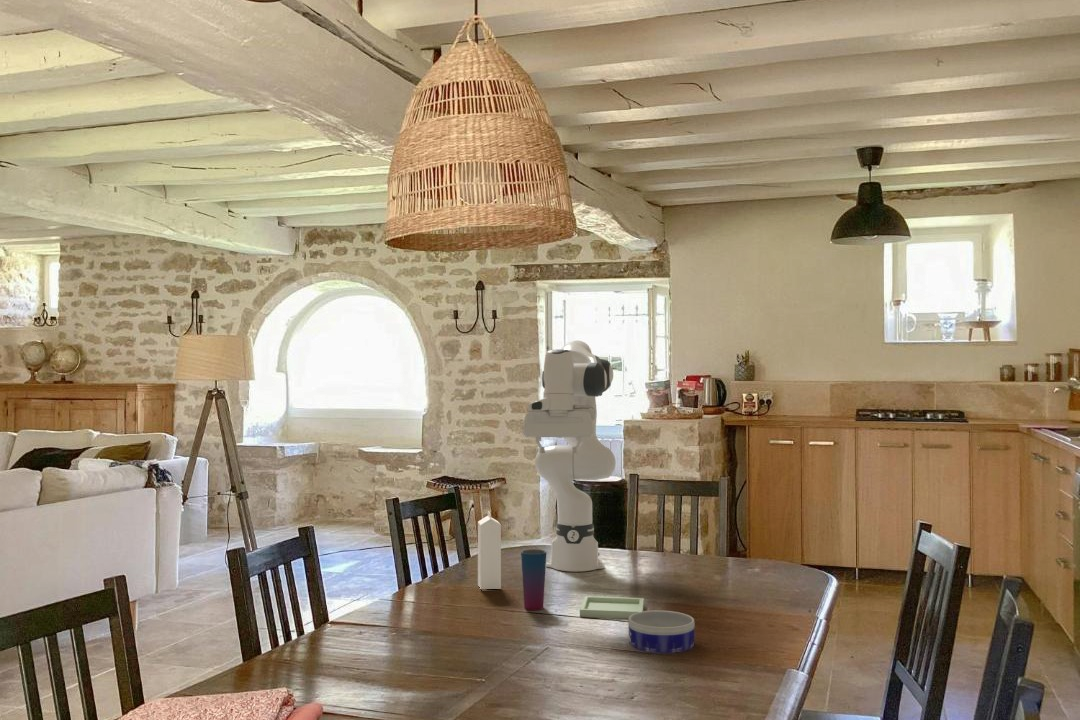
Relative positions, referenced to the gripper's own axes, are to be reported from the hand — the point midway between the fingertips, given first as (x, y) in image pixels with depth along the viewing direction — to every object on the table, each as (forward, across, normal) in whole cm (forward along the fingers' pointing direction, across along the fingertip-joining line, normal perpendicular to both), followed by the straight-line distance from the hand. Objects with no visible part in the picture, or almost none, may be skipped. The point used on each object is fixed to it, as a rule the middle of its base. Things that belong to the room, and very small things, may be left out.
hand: (558, 453), depth 262 cm
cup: (+41, +5, +12) cm, 43 cm away
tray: (+41, -16, +12) cm, 46 cm away
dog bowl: (+45, -28, +39) cm, 66 cm away
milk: (+39, +21, -8) cm, 45 cm away
